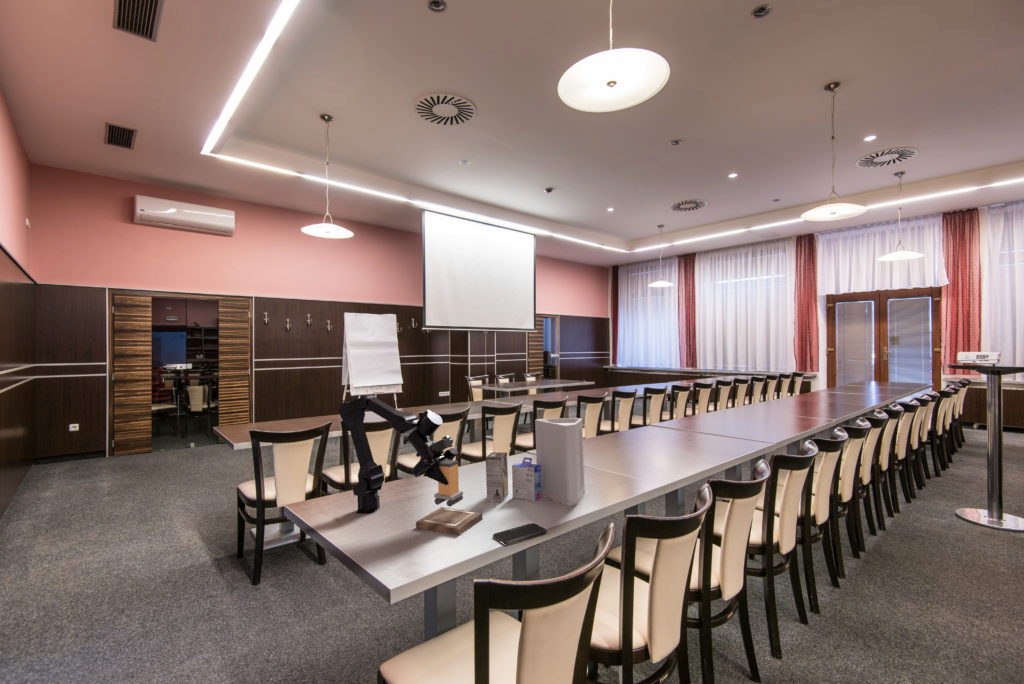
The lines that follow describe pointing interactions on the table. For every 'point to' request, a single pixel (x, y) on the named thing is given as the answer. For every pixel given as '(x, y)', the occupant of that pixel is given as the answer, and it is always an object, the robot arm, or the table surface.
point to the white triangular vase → (561, 459)
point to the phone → (520, 533)
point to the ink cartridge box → (526, 480)
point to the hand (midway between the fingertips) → (451, 482)
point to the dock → (449, 520)
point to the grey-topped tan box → (449, 484)
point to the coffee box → (497, 476)
